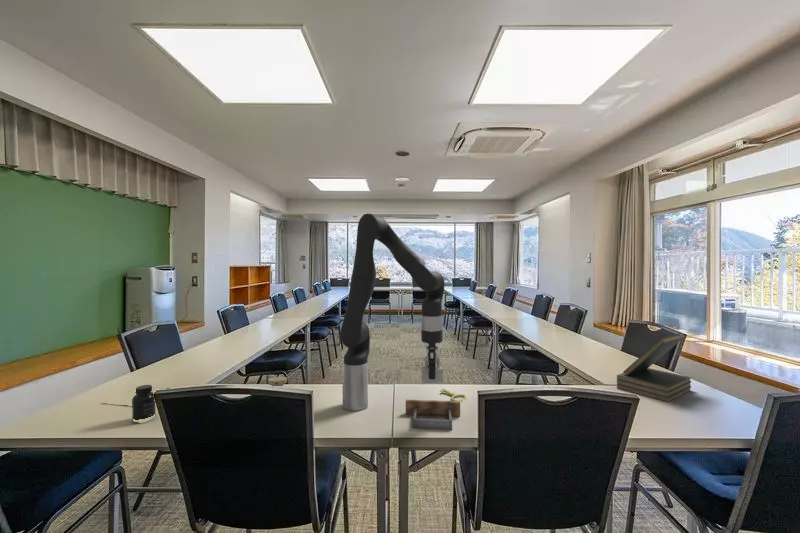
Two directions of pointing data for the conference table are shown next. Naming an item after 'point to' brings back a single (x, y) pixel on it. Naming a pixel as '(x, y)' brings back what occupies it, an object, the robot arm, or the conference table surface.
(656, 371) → the dark grey angled piece
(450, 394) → the key
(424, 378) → the padlock
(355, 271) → the robot arm
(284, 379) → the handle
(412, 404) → the door strip
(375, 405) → the conference table surface
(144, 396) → the supplement bottle
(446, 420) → the grey metal tray
